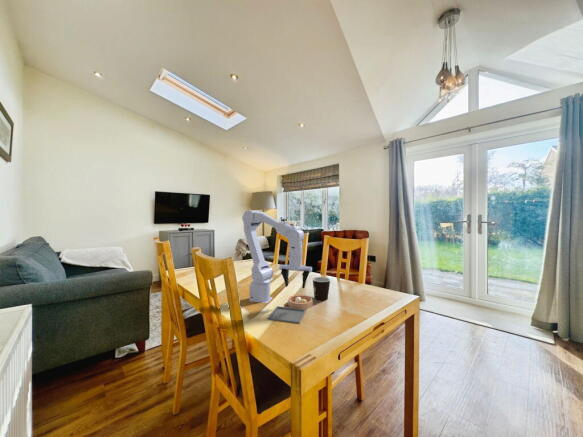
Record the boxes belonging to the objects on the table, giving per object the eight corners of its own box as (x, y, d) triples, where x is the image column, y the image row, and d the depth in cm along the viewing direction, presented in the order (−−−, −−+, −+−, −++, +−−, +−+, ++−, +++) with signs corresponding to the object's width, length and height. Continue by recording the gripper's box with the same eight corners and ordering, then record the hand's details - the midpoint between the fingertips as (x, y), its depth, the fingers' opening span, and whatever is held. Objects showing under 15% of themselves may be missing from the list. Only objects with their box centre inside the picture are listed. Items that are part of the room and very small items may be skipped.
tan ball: (297, 304, 105) (301, 303, 102) (300, 298, 107) (304, 297, 104) (302, 308, 105) (307, 307, 103) (305, 301, 107) (309, 300, 105)
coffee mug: (329, 303, 110) (329, 282, 110) (311, 301, 112) (311, 281, 112) (330, 295, 121) (330, 276, 121) (313, 293, 123) (314, 275, 123)
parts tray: (267, 320, 92) (267, 317, 92) (277, 308, 103) (277, 306, 103) (299, 325, 88) (299, 322, 88) (305, 312, 100) (306, 309, 100)
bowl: (285, 308, 103) (285, 302, 103) (291, 300, 114) (291, 293, 114) (309, 311, 100) (309, 304, 100) (314, 302, 111) (314, 296, 111)
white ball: (295, 306, 107) (293, 300, 106) (296, 301, 110) (295, 295, 109) (301, 305, 106) (300, 299, 105) (303, 301, 109) (301, 295, 108)
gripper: (277, 256, 102) (276, 287, 102) (310, 259, 98) (309, 291, 98) (282, 254, 108) (281, 283, 109) (313, 256, 105) (312, 286, 105)
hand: (295, 286), depth 104 cm, fingers open, 7 cm apart
